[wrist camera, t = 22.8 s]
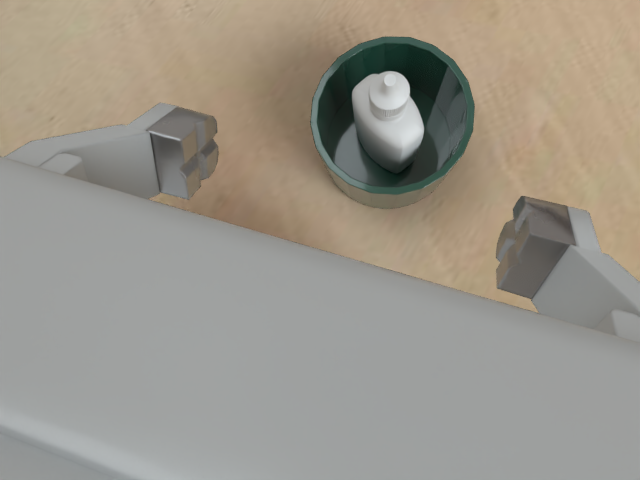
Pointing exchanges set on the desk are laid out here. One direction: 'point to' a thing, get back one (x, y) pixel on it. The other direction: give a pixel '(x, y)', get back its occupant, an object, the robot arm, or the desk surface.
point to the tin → (434, 107)
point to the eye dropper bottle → (387, 120)
